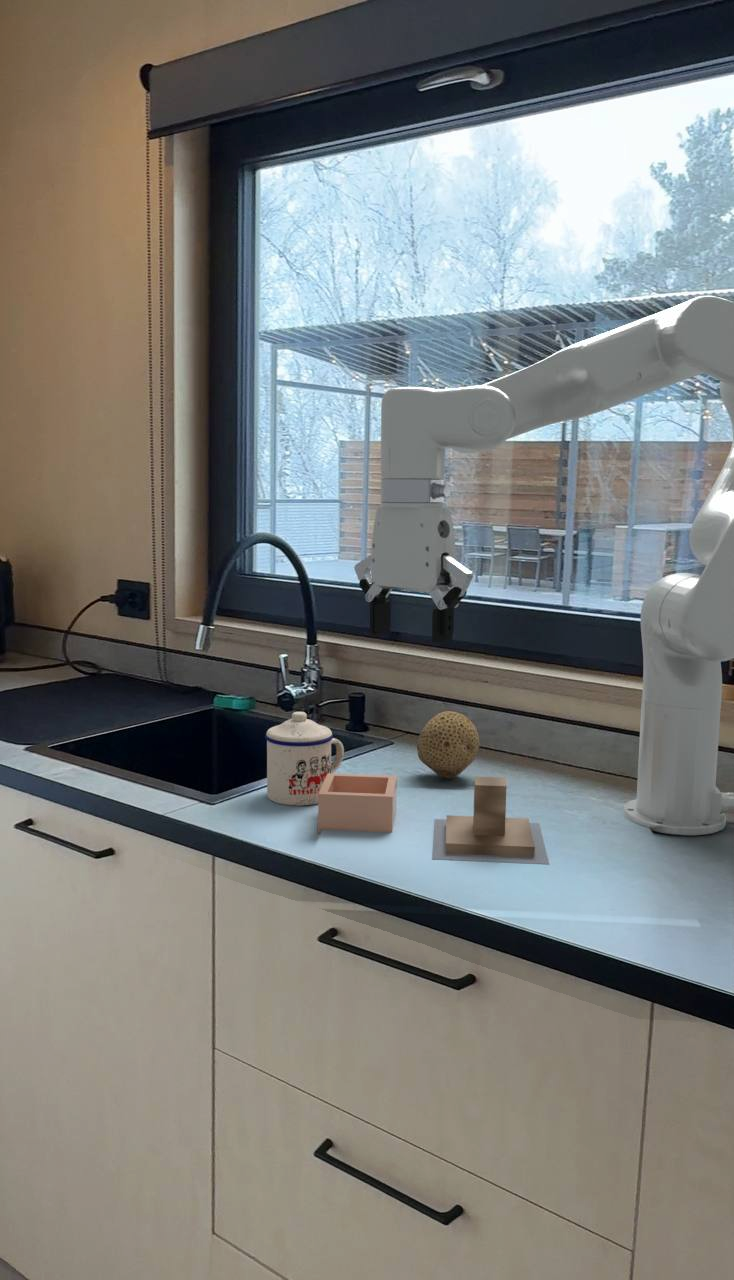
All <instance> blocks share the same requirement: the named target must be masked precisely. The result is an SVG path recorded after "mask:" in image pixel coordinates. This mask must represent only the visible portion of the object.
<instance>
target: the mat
mask: <svg viewBox="0 0 734 1280" xmlns="http://www.w3.org/2000/svg"><path fill="white" fill-rule="evenodd" d="M446 820H447V818H446V819H445V818H444V819H442V818H434V821H433V824H434V825H433V840H432V852H431V853H432V857H431V860H436V861H457V862H458V861H460V862H461V861H462V862H482V863H507V864H529V865H532V864H533V865H548V866H549V865H550V861H549V858H548V853H547V850H546V849H547V848H546V846H545V841H544V838H543V833H542V830H541V826H540V823H539V822H529V823H530V828H531V832H532V837H533V841H534V846H535V853H534V857H520V856H497V855H473V854H449V853H446Z"/></svg>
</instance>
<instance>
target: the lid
mask: <svg viewBox="0 0 734 1280" xmlns="http://www.w3.org/2000/svg"><path fill="white" fill-rule="evenodd" d="M506 780H507V779H506V777H500V776H499V777H498V776H497V777H496V776H477V775H475V776H474V782H473V783H474V784H473V786H474V787H473V788H474V789H473V815H472V816H471V815H470V816H469V815H449V814H447V815H446V819H447V820H446V853H449V854H473V855H497V856H520V857H534V853H535V846H534V841H533V837H532V832H531V828H530V823H531V822H530V820H529V818H525V817H524V818H523V817H506V813H507V812H506V810H507V782H506Z"/></svg>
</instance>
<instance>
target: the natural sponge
mask: <svg viewBox="0 0 734 1280" xmlns="http://www.w3.org/2000/svg"><path fill="white" fill-rule="evenodd" d="M479 749H480V736H479V732H478V730H477V728H476V726H475V724H474V723H473V722H472V721H471V720H470V719H469V718H468V717H467V716H466V715H465V714H462V713H459V712H457V711H448V710H447V711H442V712H440V713H437V714H435V715H434V716H433V717H432V718H431V719H430V720H428V721H427V723H426V724H425V725H424V726H423V728H422V729H421V732H420V734H419V736H418V739H417V742H416V750H417V756H418V759H419V760H420V762H421V763H423V764H424V765H425V766H426V767H427V768H429V769H430V770H432V772H433V773H435V774H436V775H438V776H439V777H442V778H443V779H447V780H450V779H452V778H455V777H458V776H459V775H460V774H461V773H463V771H465V770H466V769H467V768H468V767H469V766H470V765H471V764H472V763H473V762H474V760H475V759H476V756H477V755H478V753H479Z"/></svg>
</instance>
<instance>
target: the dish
mask: <svg viewBox="0 0 734 1280" xmlns="http://www.w3.org/2000/svg"><path fill="white" fill-rule="evenodd" d="M397 784H398V775H389V774H387V775H385V774H383V775H382V774H359V773H358V774H357V773H356V774H355V773H335V772H333V773H327V775H326V778H325V780H324V782H323V785H322V787H321V789H320V791H319V794H318V803H317V805H318V806H317V807H318V809H317V810H318V812H317V814H318V815H317V816H318V817H317V822H318V823H317V828H318V829H317V834H319V835H321V834H322V832H323V831H322V830H326V831H352V832H373V833H374V832H375V833H379V832H380V833H393V831H394V830H393V829H394V823H395V817H396V812H397V799H398V798H397V794H398V793H397V792H398V791H397V790H398V788H397V787H398V786H397Z"/></svg>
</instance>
